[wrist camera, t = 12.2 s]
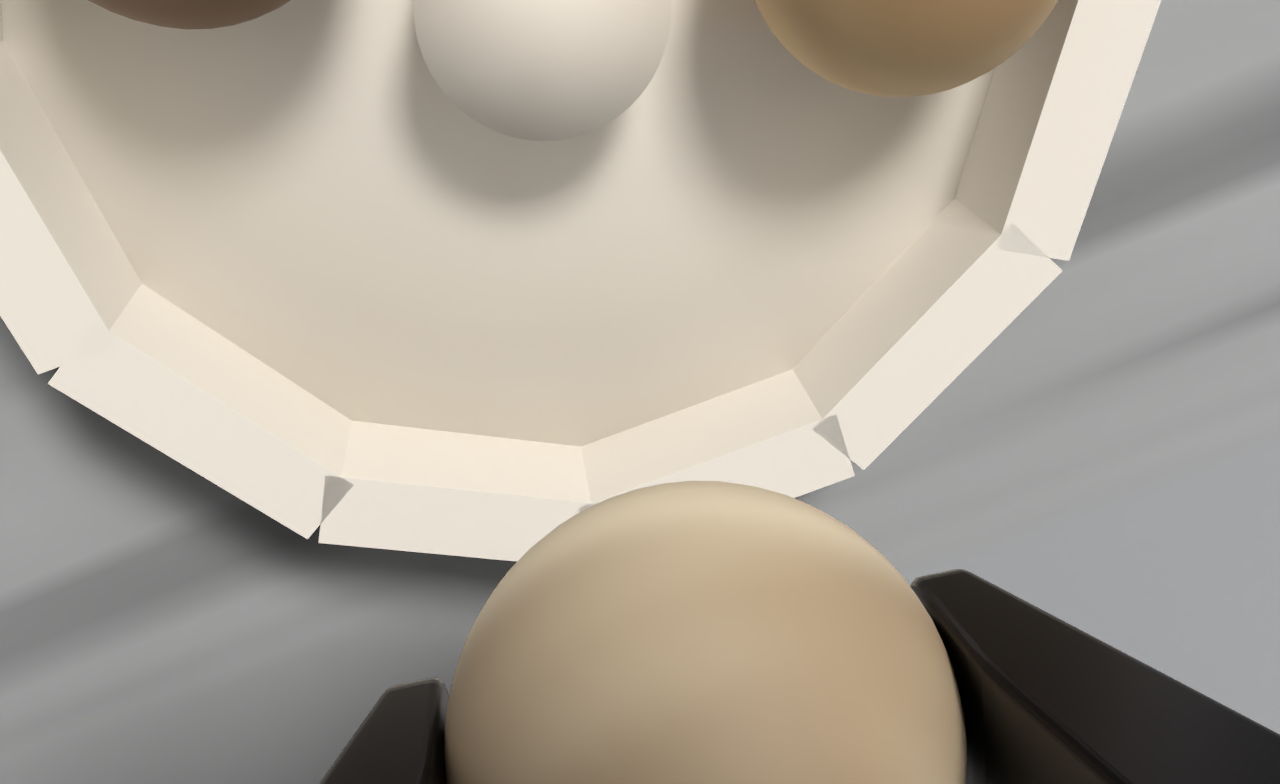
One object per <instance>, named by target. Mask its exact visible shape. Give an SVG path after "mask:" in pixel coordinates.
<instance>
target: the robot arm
mask: <svg viewBox="0 0 1280 784" xmlns="http://www.w3.org/2000/svg"><path fill="white" fill-rule="evenodd" d="M910 587H911V588H912V590H913V591H914V593H915V594H916V595H917V597H918V598H919V600H920V601H921V603H922V604H923V606H924V608H925V609H926V611H927V612H928V614H929V615H930V617H931V618H932V620H933V622H934V625H935V627H936V629H937V631H938V633H939V635H940V637H941V639H942V642H943V644H944V646H945V649H946V651H947V653H948V656H949V658H950V661H951V663H952V665H953V669H954V673H955V677H956V681H957V685H958V688H959V693H960V697H961V701H962V706H963V710H964V714H965V728H966V743H967V761H968V767H967V777H966V784H1280V734H1278V733H1276V732H1274V731H1272V730H1270V729H1268V728H1266V727H1264V726H1262V725H1261V724H1259V723H1257V722H1255V721H1253V720H1251V719H1249V718H1247V717H1245V716H1243V715H1242V714H1240V713H1238V712H1236V711H1234V710H1232V709H1230V708H1228V707H1226V706H1224V705H1222V704H1221V703H1219V702H1217V701H1215V700H1213V699H1211V698H1209V697H1207V696H1205V695H1203V694H1201V693H1200V692H1198V691H1196V690H1194V689H1192V688H1190V687H1188V686H1186V685H1184V684H1182V683H1180V682H1179V681H1177V680H1175V679H1173V678H1171V677H1169V676H1167V675H1165V674H1163V673H1161V672H1160V671H1158V670H1156V669H1154V668H1152V667H1150V666H1148V665H1146V664H1144V663H1142V662H1140V661H1139V660H1137V659H1135V658H1133V657H1131V656H1129V655H1127V654H1125V653H1123V652H1121V651H1119V650H1118V649H1116V648H1114V647H1112V646H1110V645H1108V644H1106V643H1104V642H1102V641H1100V640H1099V639H1097V638H1095V637H1093V636H1091V635H1089V634H1087V633H1085V632H1083V631H1081V630H1079V629H1078V628H1076V627H1074V626H1072V625H1070V624H1068V623H1066V622H1064V621H1062V620H1060V619H1058V618H1057V617H1055V616H1053V615H1051V614H1049V613H1047V612H1045V611H1043V610H1041V609H1039V608H1037V607H1036V606H1034V605H1032V604H1030V603H1028V602H1026V601H1024V600H1022V599H1020V598H1018V597H1017V596H1015V595H1013V594H1011V593H1009V592H1007V591H1005V590H1003V589H1001V588H999V587H997V586H996V585H994V584H992V583H990V582H988V581H986V580H984V579H982V578H980V577H978V576H976V575H975V574H973V573H971V572H968V571H966V570H962V569H955V570H950V571H945V572H941V573H936V574H931V575H926V576H922V577H918V578H916V579H915V580H914V581H913V582H912V584H911V586H910ZM448 700H449V694H448V691H447V688H446V686H445V684H444V683H443V682H442V681H441V680H440V679H438V678H430V679H425V680H420V681H415V682H410V683H405V684H401V685H396V686H393V687H390V688H389V689H388V690H386V691H385V692H384V694H383V695H382V696H381V698H380V699H379V700H378V702H377V703H376V705H375V706H374V707H373V709H372V710H371V712H370V713H369V714H368V716H367V717H366V719H365V720H364V722H363V723H362V724H361V726H360V727H359V729H358V730H357V731H356V733H355V734H354V736H353V737H352V738H351V740H350V741H349V743H348V744H347V746H346V747H345V748H344V750H343V751H342V753H341V754H340V755H339V757H338V758H337V760H336V761H335V762H334V764H333V765H332V767H331V768H330V769H329V771H328V772H327V774H326V775H325V777H324V778H323V779H322V781H321V782H320V784H446V774H445V759H444V739H445V722H446V714H447V705H448Z"/></svg>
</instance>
